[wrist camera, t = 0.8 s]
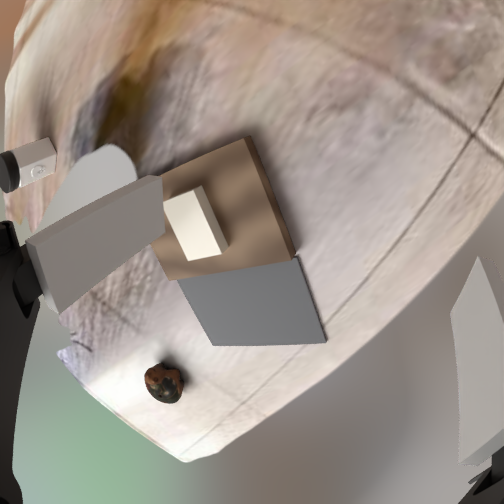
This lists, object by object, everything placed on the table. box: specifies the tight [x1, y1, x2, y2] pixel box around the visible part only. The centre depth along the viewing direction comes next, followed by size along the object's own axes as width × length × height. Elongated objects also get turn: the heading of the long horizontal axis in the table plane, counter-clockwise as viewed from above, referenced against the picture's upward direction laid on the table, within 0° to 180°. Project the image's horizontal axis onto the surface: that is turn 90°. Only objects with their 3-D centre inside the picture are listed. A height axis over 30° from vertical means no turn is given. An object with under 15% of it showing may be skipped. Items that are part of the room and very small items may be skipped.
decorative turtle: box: [144, 363, 184, 404], centre depth 67 cm, size 10×15×8 cm, turn 10°
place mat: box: [177, 256, 327, 346], centre depth 49 cm, size 15×22×1 cm
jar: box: [0, 137, 57, 193], centre depth 48 cm, size 9×8×12 cm
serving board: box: [150, 136, 296, 281], centre depth 43 cm, size 16×22×2 cm
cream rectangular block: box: [163, 185, 229, 261], centre depth 41 cm, size 9×6×2 cm, turn 24°
